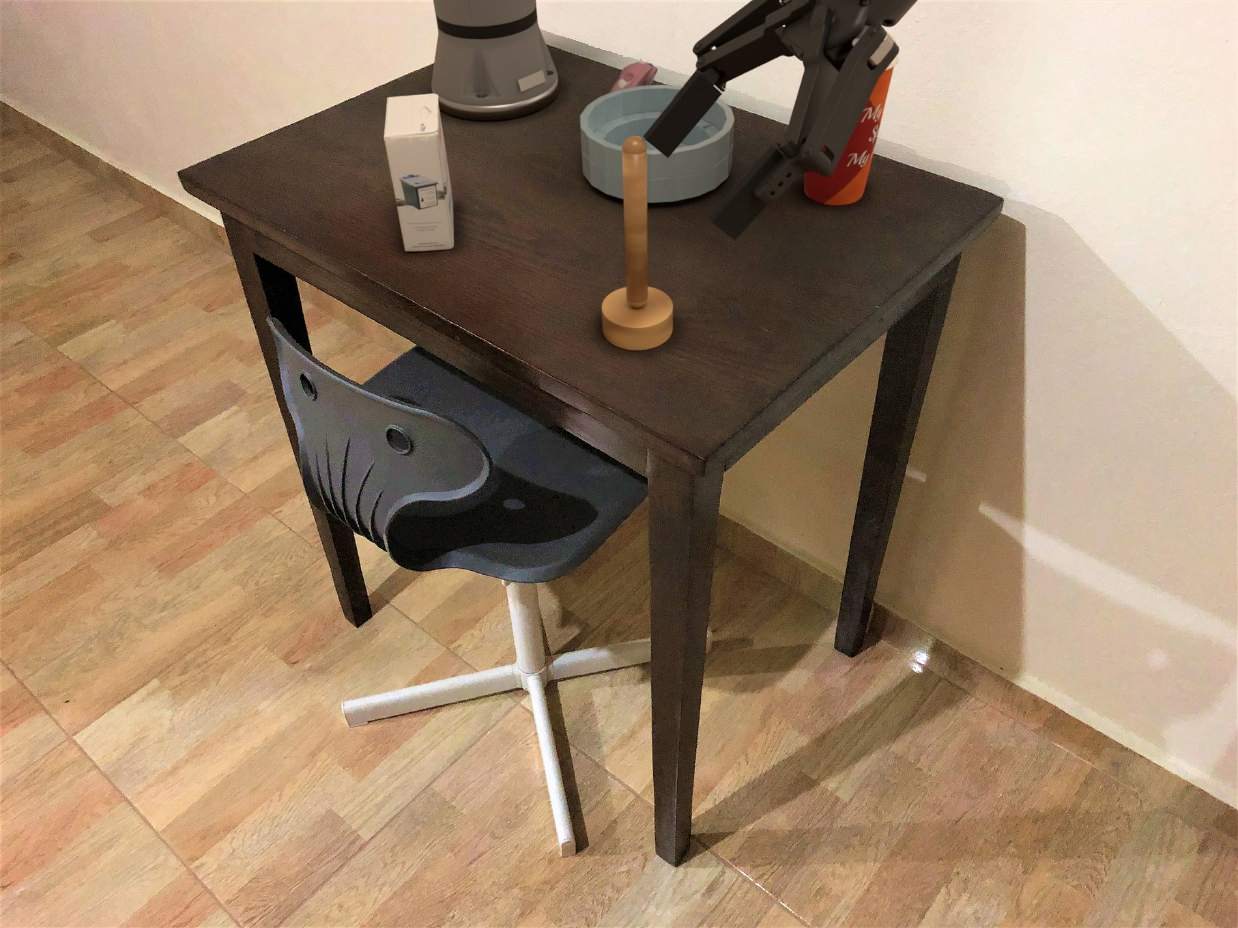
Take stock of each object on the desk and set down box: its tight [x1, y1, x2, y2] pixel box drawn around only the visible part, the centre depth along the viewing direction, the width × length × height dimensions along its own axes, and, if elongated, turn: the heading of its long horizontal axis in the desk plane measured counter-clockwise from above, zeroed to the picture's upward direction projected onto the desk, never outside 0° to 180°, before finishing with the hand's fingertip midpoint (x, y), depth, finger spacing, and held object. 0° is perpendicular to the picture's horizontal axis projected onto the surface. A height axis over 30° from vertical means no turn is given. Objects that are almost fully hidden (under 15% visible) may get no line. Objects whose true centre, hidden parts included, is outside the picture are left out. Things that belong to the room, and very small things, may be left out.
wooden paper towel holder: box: [601, 136, 674, 351], centre depth 73 cm, size 6×6×17 cm
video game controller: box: [609, 58, 658, 93], centre depth 107 cm, size 10×5×7 cm, turn 158°
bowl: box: [579, 84, 736, 204], centre depth 97 cm, size 16×16×6 cm
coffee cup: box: [803, 31, 900, 206], centre depth 90 cm, size 8×8×15 cm
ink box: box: [383, 93, 455, 252], centre depth 88 cm, size 9×5×12 cm, turn 7°
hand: (685, 186), depth 71 cm, fingers open, 13 cm apart
